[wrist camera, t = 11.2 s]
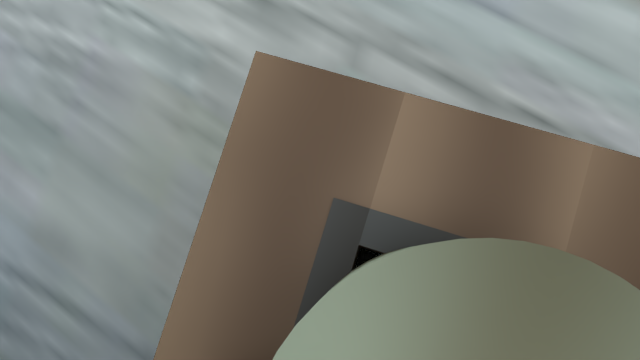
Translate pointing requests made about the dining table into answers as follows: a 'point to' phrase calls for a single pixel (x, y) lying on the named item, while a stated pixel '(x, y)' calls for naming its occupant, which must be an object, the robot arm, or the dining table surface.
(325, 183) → the hole block
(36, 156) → the dining table surface
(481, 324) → the peg
